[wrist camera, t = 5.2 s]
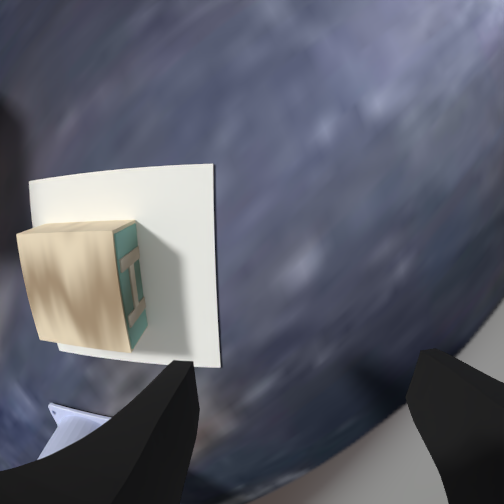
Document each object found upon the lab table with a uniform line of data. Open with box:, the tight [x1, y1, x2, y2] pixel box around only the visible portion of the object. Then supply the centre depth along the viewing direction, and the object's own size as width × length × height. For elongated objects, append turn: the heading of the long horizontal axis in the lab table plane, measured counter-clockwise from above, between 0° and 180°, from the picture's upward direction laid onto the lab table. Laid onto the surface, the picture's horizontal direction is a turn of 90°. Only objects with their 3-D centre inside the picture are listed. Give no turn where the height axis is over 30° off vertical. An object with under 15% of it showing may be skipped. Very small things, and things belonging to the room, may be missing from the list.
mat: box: [29, 164, 221, 368], centre depth 18 cm, size 13×13×1 cm
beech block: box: [16, 220, 148, 353], centre depth 16 cm, size 7×3×7 cm
